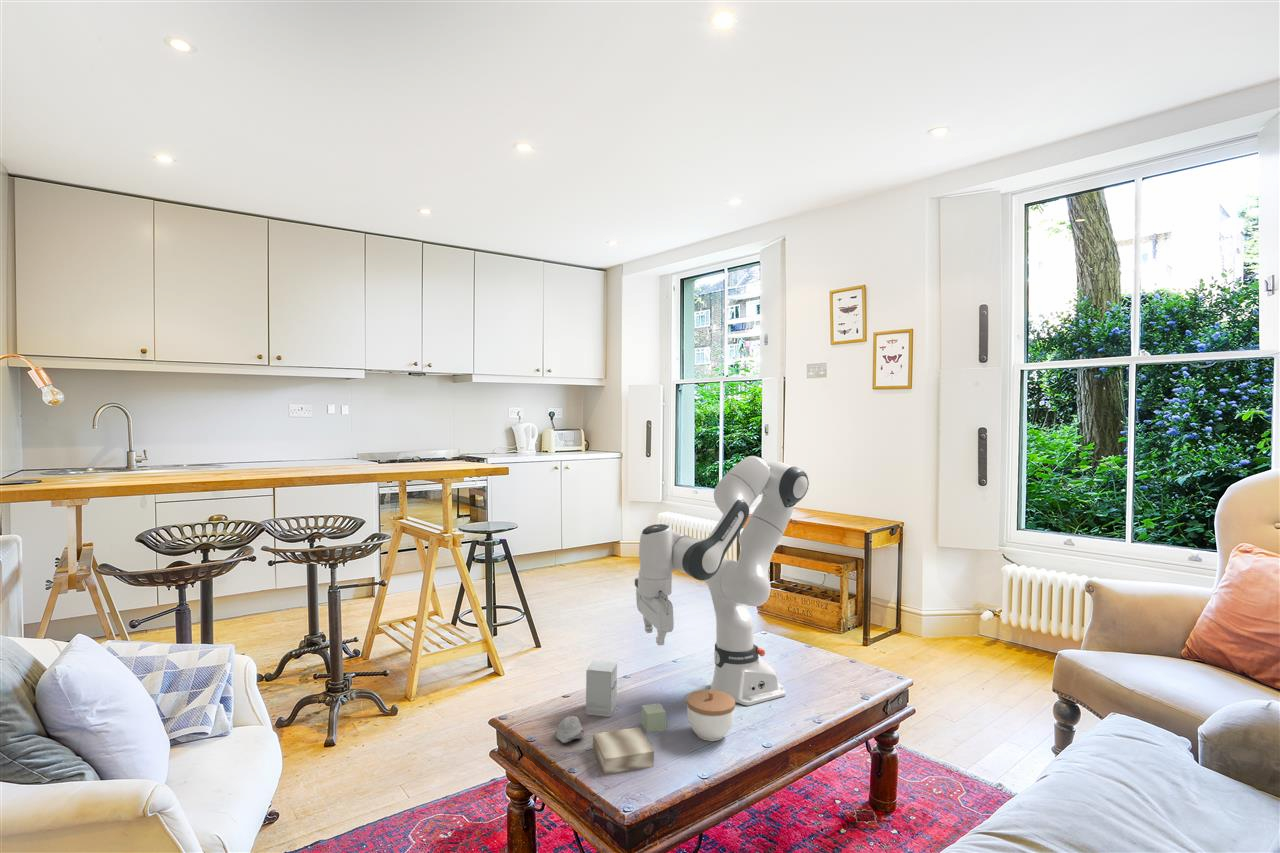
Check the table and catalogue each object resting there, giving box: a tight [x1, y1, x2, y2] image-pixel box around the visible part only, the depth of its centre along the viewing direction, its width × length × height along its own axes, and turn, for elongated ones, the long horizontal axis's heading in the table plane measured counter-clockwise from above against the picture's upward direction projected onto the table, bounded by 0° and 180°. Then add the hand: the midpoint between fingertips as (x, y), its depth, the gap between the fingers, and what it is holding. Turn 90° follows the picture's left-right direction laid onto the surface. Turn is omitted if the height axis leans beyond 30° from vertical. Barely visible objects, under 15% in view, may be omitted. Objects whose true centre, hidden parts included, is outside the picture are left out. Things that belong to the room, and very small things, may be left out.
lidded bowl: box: [686, 689, 736, 742], centre depth 167 cm, size 13×13×11 cm
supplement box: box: [585, 660, 618, 718], centre depth 180 cm, size 7×7×13 cm
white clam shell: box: [555, 715, 585, 744], centre depth 165 cm, size 9×8×5 cm
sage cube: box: [641, 702, 667, 733], centre depth 171 cm, size 5×5×5 cm
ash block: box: [592, 726, 655, 775], centre depth 156 cm, size 12×12×4 cm
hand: (654, 638), depth 170 cm, fingers open, 8 cm apart
